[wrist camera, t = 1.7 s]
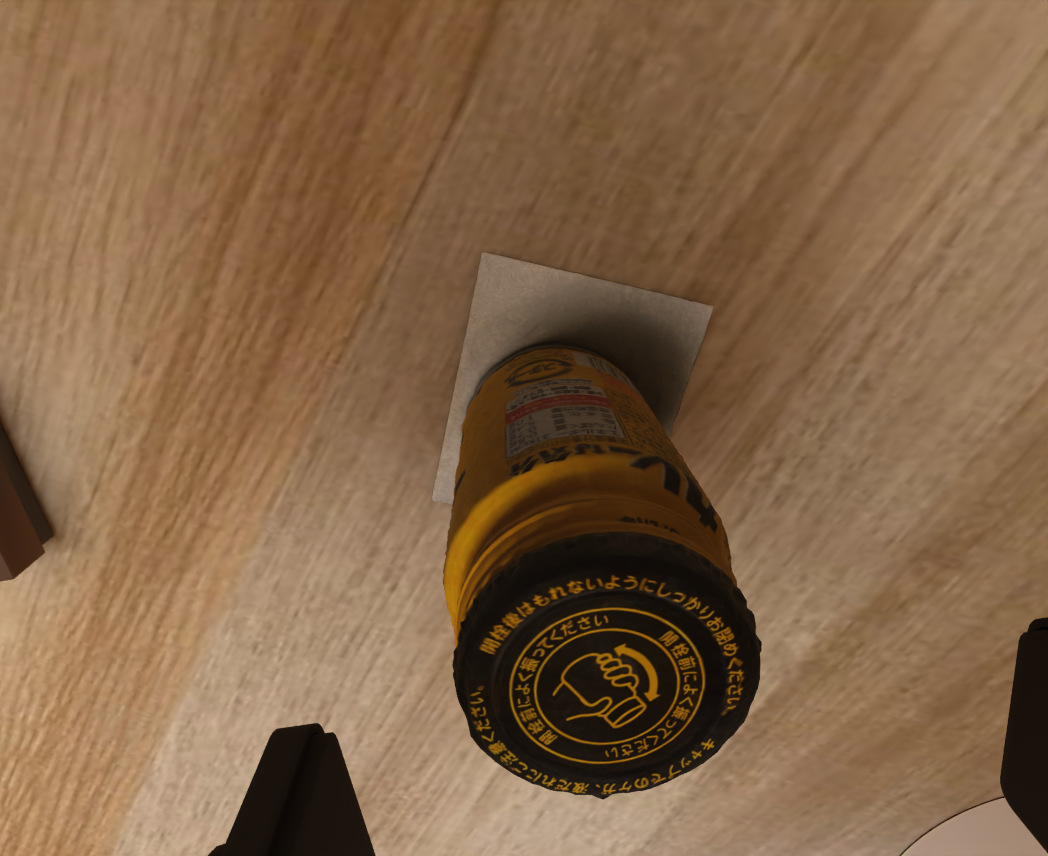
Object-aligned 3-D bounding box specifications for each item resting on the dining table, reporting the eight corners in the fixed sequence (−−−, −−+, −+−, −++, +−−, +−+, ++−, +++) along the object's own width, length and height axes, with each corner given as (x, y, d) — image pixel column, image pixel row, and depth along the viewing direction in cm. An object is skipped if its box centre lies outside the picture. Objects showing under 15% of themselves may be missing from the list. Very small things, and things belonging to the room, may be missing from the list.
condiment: (431, 498, 23) (370, 812, 12) (482, 251, 20) (466, 353, 9) (634, 535, 24) (758, 862, 12) (710, 304, 21) (963, 459, 10)
